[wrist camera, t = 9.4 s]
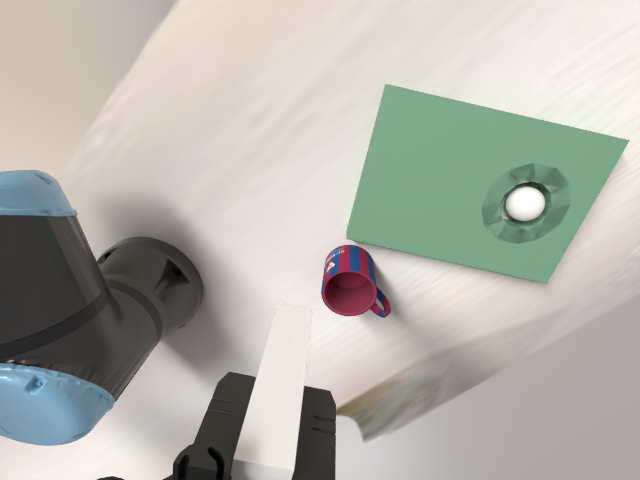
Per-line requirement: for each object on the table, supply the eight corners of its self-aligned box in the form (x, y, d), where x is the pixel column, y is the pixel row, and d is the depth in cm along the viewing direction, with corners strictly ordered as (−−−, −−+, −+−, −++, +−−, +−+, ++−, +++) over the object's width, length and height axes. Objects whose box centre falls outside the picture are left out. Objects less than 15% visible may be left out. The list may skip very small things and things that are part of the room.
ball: (492, 211, 41) (521, 228, 38) (508, 180, 39) (540, 195, 36) (511, 210, 43) (540, 226, 40) (527, 181, 41) (559, 195, 38)
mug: (349, 235, 45) (349, 258, 39) (399, 282, 48) (407, 311, 42) (315, 265, 48) (310, 292, 42) (364, 309, 50) (366, 340, 44)
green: (346, 230, 45) (346, 238, 43) (385, 84, 38) (387, 84, 35) (536, 273, 46) (546, 283, 43) (612, 137, 38) (629, 140, 36)
